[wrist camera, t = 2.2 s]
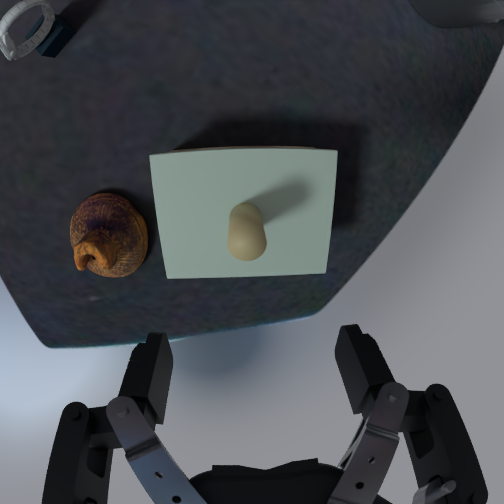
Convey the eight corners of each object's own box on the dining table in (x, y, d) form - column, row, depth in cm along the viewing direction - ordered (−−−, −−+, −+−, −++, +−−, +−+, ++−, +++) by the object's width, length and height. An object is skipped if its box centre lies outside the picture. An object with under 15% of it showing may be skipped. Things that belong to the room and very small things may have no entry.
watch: (30, 51, 20) (-23, 46, 10) (67, 5, 17) (19, -14, 8) (46, 69, 22) (-10, 67, 12) (85, 22, 20) (36, 1, 10)
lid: (334, 149, 24) (361, 161, 19) (323, 269, 30) (340, 304, 25) (152, 154, 24) (127, 167, 18) (168, 274, 30) (155, 311, 24)
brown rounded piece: (157, 202, 32) (138, 225, 26) (143, 281, 37) (128, 314, 31) (77, 182, 30) (46, 200, 24) (74, 259, 35) (50, 287, 29)
